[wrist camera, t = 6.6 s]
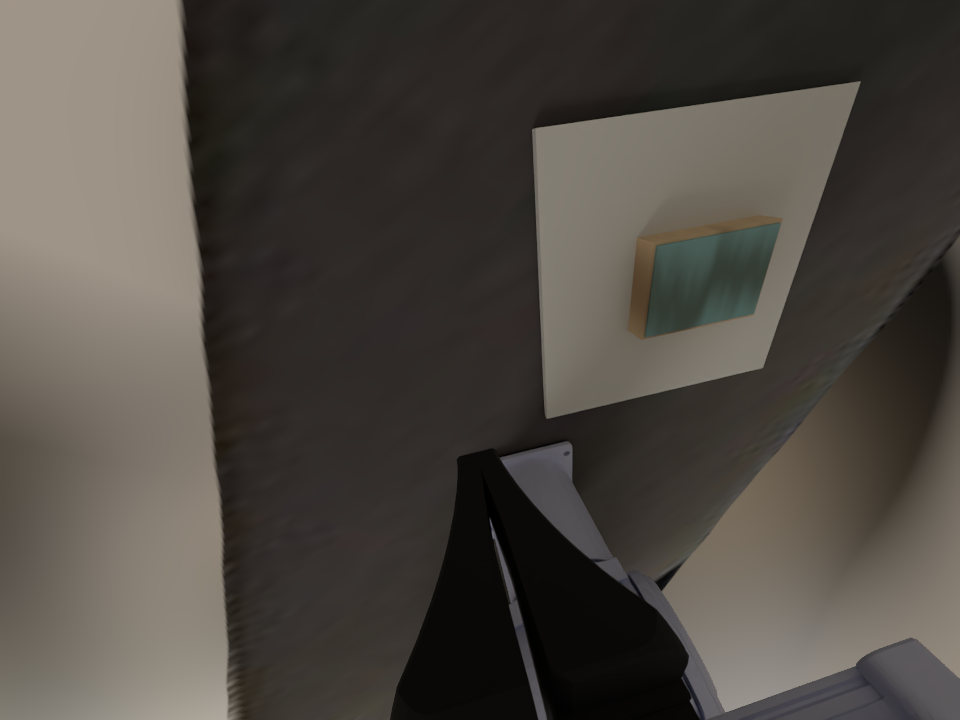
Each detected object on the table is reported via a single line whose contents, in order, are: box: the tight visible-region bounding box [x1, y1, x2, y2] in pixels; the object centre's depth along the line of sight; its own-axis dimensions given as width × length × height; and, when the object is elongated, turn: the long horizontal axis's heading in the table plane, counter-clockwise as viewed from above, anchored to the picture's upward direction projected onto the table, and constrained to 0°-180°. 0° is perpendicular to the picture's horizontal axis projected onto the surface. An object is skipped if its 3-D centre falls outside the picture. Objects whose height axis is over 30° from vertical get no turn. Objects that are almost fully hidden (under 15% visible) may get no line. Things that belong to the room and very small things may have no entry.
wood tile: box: [628, 215, 783, 340], centre depth 21 cm, size 6×2×8 cm
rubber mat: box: [532, 81, 861, 419], centre depth 22 cm, size 18×18×1 cm
